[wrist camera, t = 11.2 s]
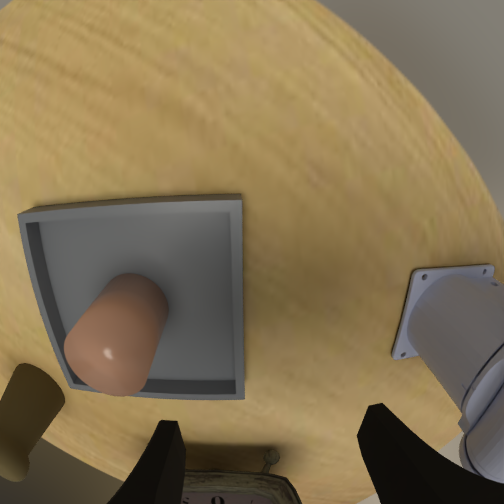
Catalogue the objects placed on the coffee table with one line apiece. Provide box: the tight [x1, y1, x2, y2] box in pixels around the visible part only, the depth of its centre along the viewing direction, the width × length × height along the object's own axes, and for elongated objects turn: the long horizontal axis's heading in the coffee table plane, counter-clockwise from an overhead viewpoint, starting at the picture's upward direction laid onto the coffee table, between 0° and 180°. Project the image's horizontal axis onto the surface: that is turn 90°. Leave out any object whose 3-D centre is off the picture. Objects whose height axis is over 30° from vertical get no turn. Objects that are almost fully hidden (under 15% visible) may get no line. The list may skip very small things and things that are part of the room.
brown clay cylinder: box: [64, 273, 169, 396], centre depth 16 cm, size 5×5×6 cm
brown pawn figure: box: [0, 363, 65, 482], centre depth 17 cm, size 6×6×11 cm
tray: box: [17, 194, 245, 400], centre depth 18 cm, size 14×14×2 cm
